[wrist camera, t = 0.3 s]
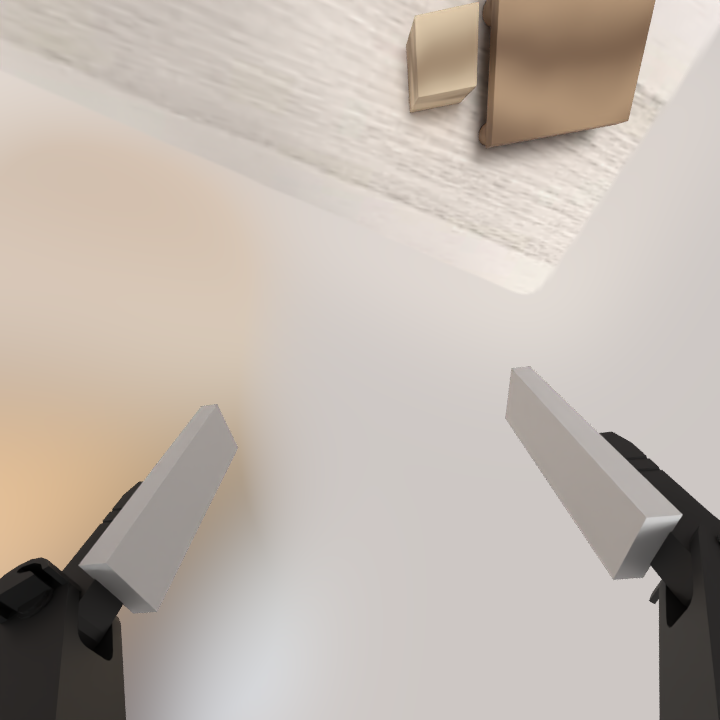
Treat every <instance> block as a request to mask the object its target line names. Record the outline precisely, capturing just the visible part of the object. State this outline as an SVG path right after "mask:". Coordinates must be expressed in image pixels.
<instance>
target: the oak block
mask: <svg viewBox="0 0 720 720" xmlns="http://www.w3.org/2000/svg"><path fill="white" fill-rule="evenodd" d="M478 20H479V2H476V3H471V4H467V5H462V6H457V7H453V8H448V9H444V10H439V11H435V12H430V13H426V14H421V15H416V16H415V17H414V21H413V24H412V27H411V31H410V34H409V38H408V41H407V44H406V50H407V68H408V86H409V104H410V113H411V112H416V111H421V110H426V109H431V108H436V107H442V106H447V105H452V104H457V103H460V102H461V101H462V100H463V99H464V98H465V97H466V96H467V95H468V94H469V93H470V92H471V91H472V90H473V89H474V88H475V87H476V86H477V54H478Z"/></svg>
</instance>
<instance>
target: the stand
mask: <svg viewBox="0 0 720 720" xmlns="http://www.w3.org/2000/svg"><path fill="white" fill-rule="evenodd" d="M654 4H655V0H487V1H486V3H485V5H484V8H483V20H484V22H485V24H486V25H487V26H490V27H491V34H490V57H489V80H488V103H487V123H485V124H484V125H483V126H482V127H481V129H480V131H479V141H480V143H481V144H482V145H485V146H486V148H491V147H496V146H502V145H507V144H513V143H518V142H523V141H529V140H534V139H540V138H545V137H551V136H556V135H562V134H567V133H573V132H578V131H584V130H589V129H594V128H600V127H605V126H611V125H616V124H619V123H622V122H626V121H628V119H629V115H630V110H631V106H632V101H633V97H634V93H635V88H636V84H637V79H638V75H639V71H640V66H641V62H642V57H643V53H644V49H645V44H646V40H647V35H648V31H649V26H650V22H651V18H652V13H653V9H654Z"/></svg>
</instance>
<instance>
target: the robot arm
mask: <svg viewBox="0 0 720 720" xmlns="http://www.w3.org/2000/svg"><path fill="white" fill-rule="evenodd" d="M505 418H506V420H507V422H508V423H509V424H510V426H511V427H512V429H513V430H514V432H515V433H516V435H517V436H518V438H519V439H520V441H521V442H522V444H523V445H524V447H525V448H526V450H527V451H528V453H529V454H530V456H531V457H532V459H533V460H534V462H535V463H536V465H537V466H538V468H539V469H540V471H541V472H542V474H543V475H544V477H545V478H546V480H547V481H548V483H549V484H550V486H551V487H552V489H553V490H554V492H555V493H556V495H557V496H558V498H559V499H560V501H561V502H562V504H563V505H564V507H565V508H566V510H567V511H568V513H569V514H570V516H571V517H572V519H573V520H574V522H575V523H576V525H577V526H578V528H579V529H580V531H581V532H582V534H583V535H584V536H585V538H586V540H587V541H588V543H589V544H590V546H591V547H592V549H593V550H594V552H595V553H596V554H597V556H598V557H599V559H600V560H601V562H602V564H603V565H604V567H605V568H606V569H607V571H608V573H609V574H610V576H611V577H612V579H614V580H615V579H628V578H643V577H644V575H645V573H646V572H647V571H648V569H649V567H650V566H652V567H653V569H654V570H655V571H656V572H657V574H658V575H659V576H660V577H661V579H662V580H661V581H660V583H659V584H658V586H657V587H656V588H655V590H654V591H653V593H652V595H651V597H650V600H649V601H650V602H652V603H654V604H655V603H656V602H657V601H658V599H659V681H660V682H659V684H660V685H659V686H660V688H659V689H660V690H659V692H660V720H720V520H719V519H717V518H716V517H715V516H713V515H712V514H711V513H710V512H709V511H708V510H707V509H706V508H704V507H703V506H702V505H701V504H700V503H699V502H698V501H696V500H695V499H694V498H693V497H692V496H691V495H690V494H689V493H688V492H686V491H685V490H684V489H683V488H682V487H681V486H680V485H678V484H677V483H676V482H675V481H674V480H673V479H672V478H670V476H668V475H667V474H666V473H665V472H664V471H663V470H660V469H659V467H658V466H657V465H656V464H655V463H654V462H653V461H652V460H650V459H647V457H646V455H644V454H643V452H641V451H640V450H639V449H638V448H637V447H636V446H635V445H634V444H632V443H631V442H629V441H628V440H626V439H624V438H622V437H621V436H618V435H617V434H615V433H613V432H605V433H598V432H597V431H596V430H595V429H594V428H593V427H592V426H591V425H590V424H589V423H588V422H587V421H586V420H585V419H584V418H583V417H582V416H581V415H580V414H579V413H577V411H576V410H575V409H573V408H572V407H571V406H570V405H569V404H568V403H567V402H566V401H565V400H564V399H563V398H562V397H561V396H560V395H559V394H558V393H557V392H556V391H555V390H554V389H553V388H552V387H551V386H550V385H549V384H548V383H547V382H545V380H544V379H543V378H542V377H541V376H539V374H537V373H536V372H535V371H534V370H533V369H532V368H531V367H530V366H528V367H519V368H512V369H511V377H510V385H509V393H508V401H507V409H506V417H505ZM237 449H238V446H237V444H236V442H235V440H234V438H233V436H232V434H231V432H230V430H229V428H228V426H227V424H226V421H225V420H224V417H223V415H222V413H221V411H220V409H219V407H218V405H217V404H214V405H206V406H201V408H200V409H199V410H198V411H197V412H196V414H195V415H194V416H193V418H192V419H191V420H190V422H189V423H188V424H187V426H186V427H185V428H184V429H183V431H182V432H181V433H180V434H179V436H178V437H177V438H176V440H175V441H174V442H173V443H172V445H171V446H170V448H169V449H168V450H167V452H166V453H165V454H164V455H163V457H162V458H161V459H160V460H159V462H158V463H157V464H156V466H155V467H154V468H153V469H152V471H151V472H150V474H149V475H148V476H147V477H146V479H145V480H144V481H142V482H138V483H137V484H136V485H135V486H133V487H132V488H131V489H130V490H129V491H128V492H126V493H125V494H124V495H123V496H122V498H121V499H120V500H119V502H118V503H117V504H116V505H115V506H114V508H113V510H112V512H109V514H108V515H107V516H106V517H105V519H104V520H103V523H102V524H100V525H99V526H98V527H97V529H96V530H95V531H94V533H93V534H92V535H91V536H90V537H89V539H88V540H87V541H86V542H85V544H84V545H83V546H82V547H81V549H80V550H79V551H78V553H77V554H76V555H75V556H74V557H73V559H72V560H71V561H70V562H69V564H68V565H67V566H66V567H65V568H64V570H63V571H60V570H59V569H58V568H57V567H56V566H55V565H53V564H52V563H51V562H50V561H48V560H47V559H44V558H36V559H31V560H30V561H27V562H25V563H23V564H21V565H19V566H18V567H16V568H14V569H13V570H11V571H10V572H8V573H7V574H5V575H4V576H3V577H2V578H1V579H0V720H126V712H125V694H124V675H123V657H122V638H121V623H120V621H119V618H118V617H117V616H116V615H117V614H118V612H119V610H120V609H121V607H122V605H124V606H126V607H127V608H128V609H129V610H130V611H131V612H132V613H146V612H157V611H158V609H159V607H160V605H161V603H162V601H163V599H164V597H165V595H166V593H167V591H168V589H169V587H170V585H171V583H172V581H173V579H174V577H175V574H176V572H177V570H178V568H179V566H180V564H181V562H182V560H183V558H184V556H185V554H186V552H187V550H188V548H189V546H190V544H191V542H192V540H193V538H194V536H195V534H196V532H197V530H198V528H199V526H200V524H201V522H202V520H203V518H204V516H205V514H206V511H207V510H208V508H209V506H210V504H211V501H212V500H213V498H214V495H215V493H216V491H217V489H218V487H219V485H220V483H221V481H222V479H223V477H224V475H225V473H226V471H227V469H228V467H229V465H230V463H231V461H232V459H233V457H234V455H235V453H236V451H237Z"/></svg>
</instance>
